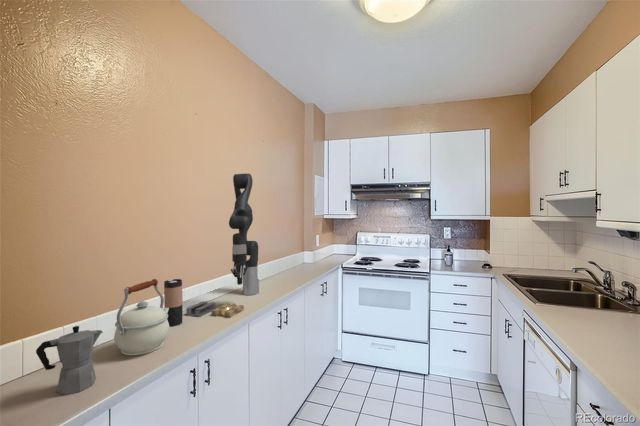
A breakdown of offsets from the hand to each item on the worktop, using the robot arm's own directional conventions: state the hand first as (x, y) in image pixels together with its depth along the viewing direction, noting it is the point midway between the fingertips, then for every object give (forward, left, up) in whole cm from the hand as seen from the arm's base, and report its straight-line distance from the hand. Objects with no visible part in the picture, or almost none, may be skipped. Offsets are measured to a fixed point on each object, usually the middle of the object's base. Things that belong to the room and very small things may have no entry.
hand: (239, 284), depth 164 cm
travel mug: (+34, +4, -12) cm, 36 cm away
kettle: (+48, +22, -12) cm, 54 cm away
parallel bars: (+9, +6, -12) cm, 16 cm away
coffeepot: (+70, +40, -12) cm, 81 cm away
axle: (+9, +6, -12) cm, 16 cm away
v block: (+19, -5, -12) cm, 23 cm away
